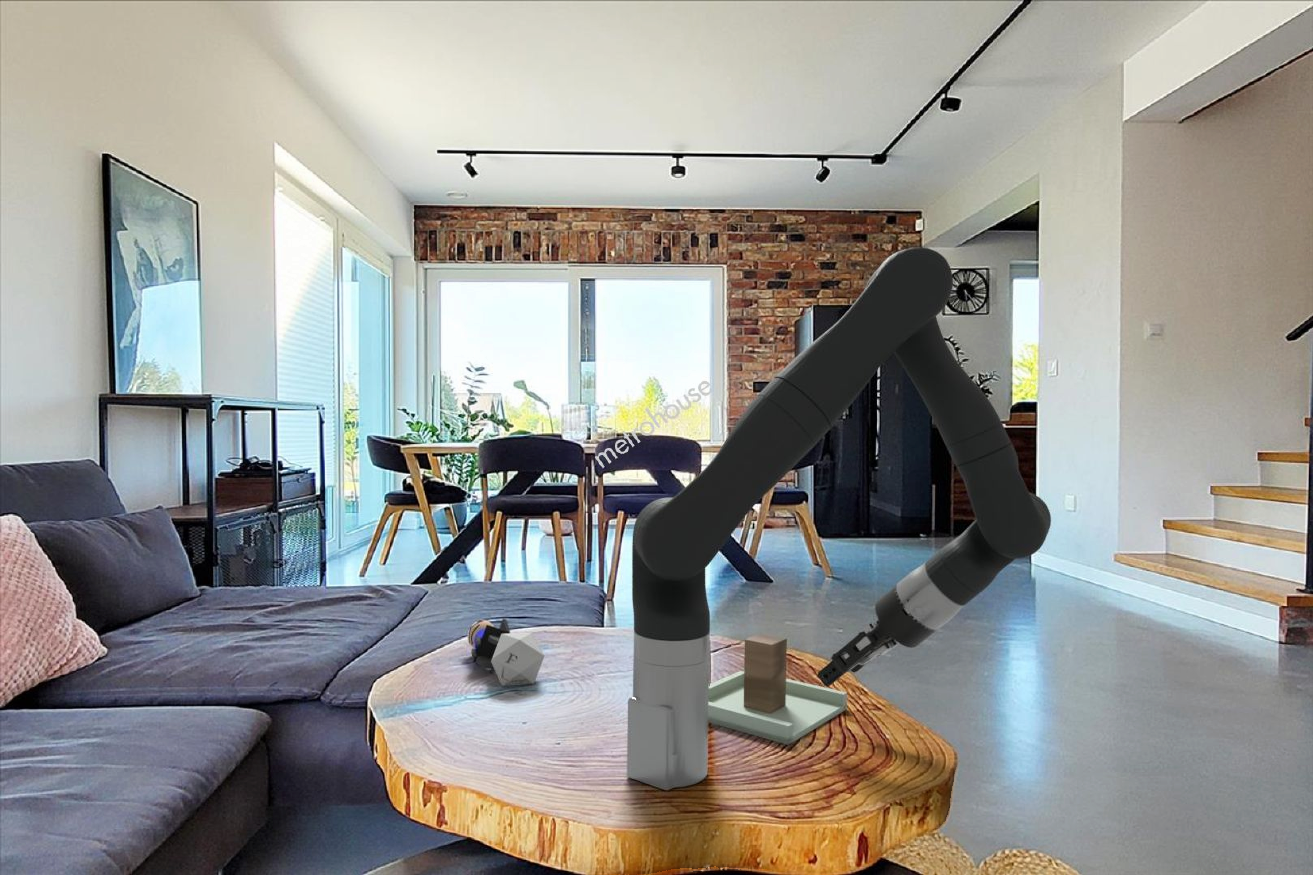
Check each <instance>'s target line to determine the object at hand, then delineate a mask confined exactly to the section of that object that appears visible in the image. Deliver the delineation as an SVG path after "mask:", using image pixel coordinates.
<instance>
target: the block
mask: <svg viewBox="0 0 1313 875" xmlns="http://www.w3.org/2000/svg"><path fill="white" fill-rule="evenodd" d="M787 642H788V639H787V638H786V637H780V636H774V635H770V634H764V633H759V634H756V635H753V636H750V637H748V638H745V639H744V659H743V660H744V662H743V663H744V665H743V666H744V668H743V670H744V707H746V708H750V709H754V710H757V711H761V712H765V713H769V714H771V713H773V712H775V711H777V710H778V709H780V708H782V707H784V706H786V679H787V652H788V651H787V646H788V644H787Z"/></svg>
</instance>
